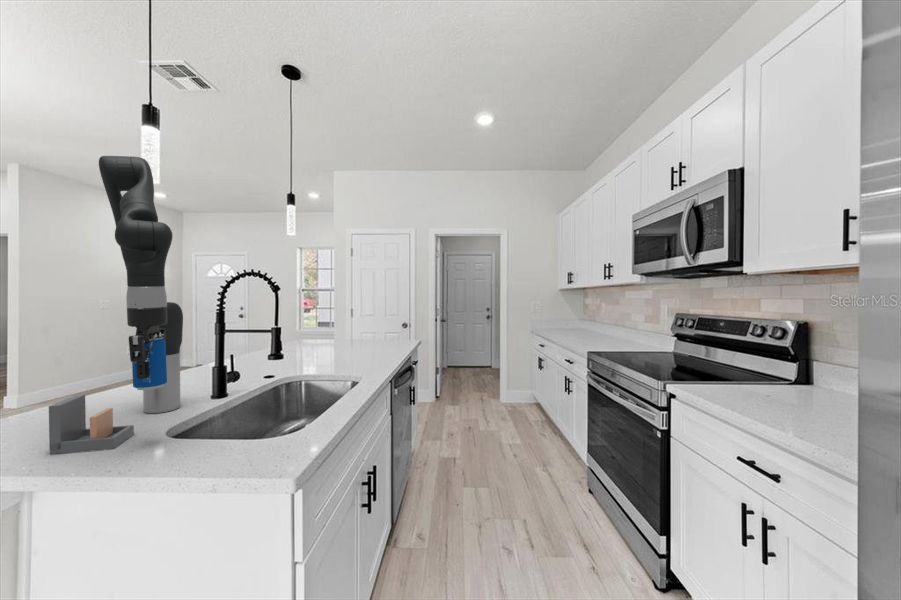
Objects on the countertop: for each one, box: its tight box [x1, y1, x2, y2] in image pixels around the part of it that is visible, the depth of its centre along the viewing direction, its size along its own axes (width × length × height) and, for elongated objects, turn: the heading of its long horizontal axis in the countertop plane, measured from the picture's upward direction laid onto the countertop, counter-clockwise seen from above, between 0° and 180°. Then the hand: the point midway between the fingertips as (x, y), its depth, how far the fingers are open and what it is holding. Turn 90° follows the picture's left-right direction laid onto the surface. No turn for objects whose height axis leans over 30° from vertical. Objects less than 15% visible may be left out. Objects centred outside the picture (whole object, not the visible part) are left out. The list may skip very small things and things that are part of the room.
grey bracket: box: [48, 394, 135, 455], centre depth 92 cm, size 12×9×11 cm
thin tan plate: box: [89, 407, 114, 439], centre depth 93 cm, size 1×7×6 cm, turn 17°
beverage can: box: [131, 336, 167, 391], centre depth 92 cm, size 6×6×12 cm
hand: (149, 374), depth 93 cm, fingers closed on beverage can, 6 cm apart
